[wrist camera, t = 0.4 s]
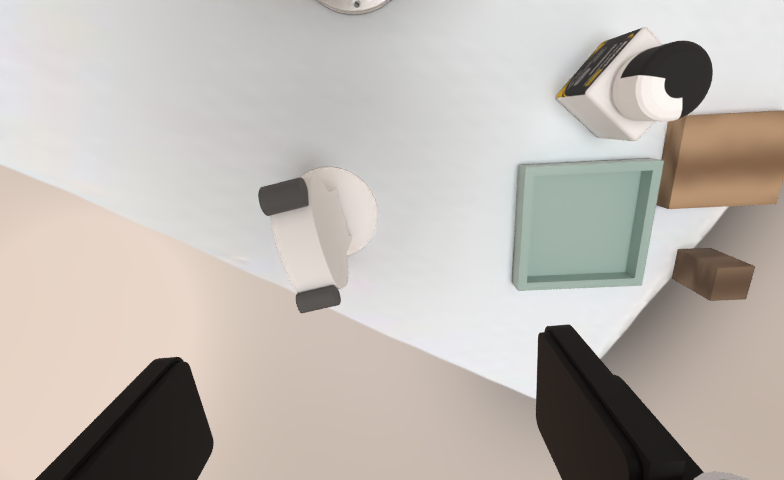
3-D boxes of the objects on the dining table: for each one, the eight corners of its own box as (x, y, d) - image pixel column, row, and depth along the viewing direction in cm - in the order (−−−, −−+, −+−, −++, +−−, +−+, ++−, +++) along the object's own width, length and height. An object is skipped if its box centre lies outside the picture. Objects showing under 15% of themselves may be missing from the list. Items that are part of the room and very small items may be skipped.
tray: (518, 164, 43) (525, 167, 41) (648, 158, 43) (664, 160, 40) (511, 282, 48) (518, 290, 45) (629, 277, 47) (641, 285, 45)
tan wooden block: (666, 116, 42) (686, 116, 39) (774, 110, 42) (802, 110, 39) (651, 203, 45) (668, 209, 42) (751, 198, 45) (776, 203, 42)
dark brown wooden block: (678, 249, 46) (717, 267, 41) (710, 248, 46) (755, 266, 40) (672, 278, 48) (709, 300, 42) (703, 277, 47) (745, 299, 42)
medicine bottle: (603, 40, 39) (689, 8, 28) (647, 85, 40) (746, 73, 29) (553, 97, 41) (615, 89, 29) (597, 138, 42) (672, 146, 31)
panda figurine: (269, 174, 44) (209, 202, 29) (361, 150, 43) (346, 167, 28) (301, 266, 47) (262, 330, 33) (387, 245, 46) (384, 302, 32)
